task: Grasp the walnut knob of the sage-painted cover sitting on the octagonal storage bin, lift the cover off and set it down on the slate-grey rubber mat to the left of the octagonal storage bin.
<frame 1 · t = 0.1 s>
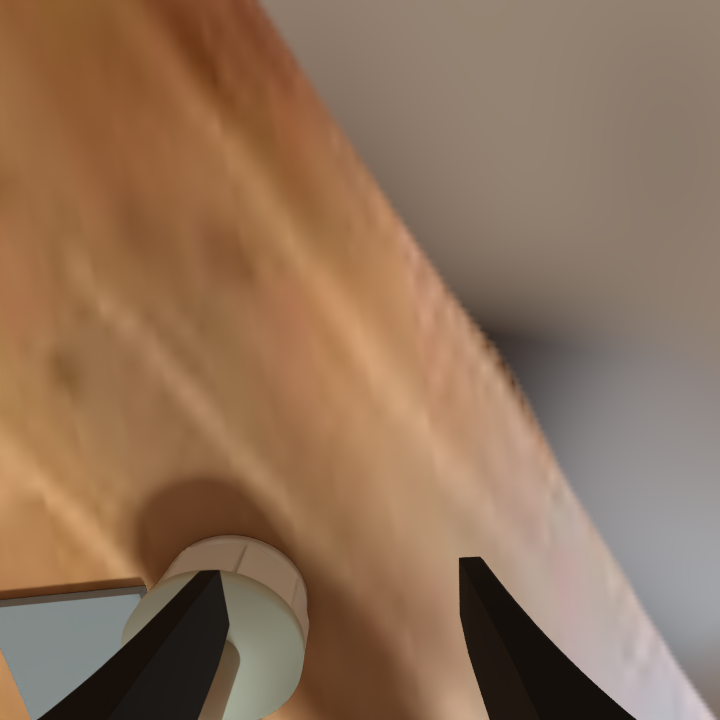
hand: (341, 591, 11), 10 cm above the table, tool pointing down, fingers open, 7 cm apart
mat: (95, 667, 25), on the table
cover: (217, 643, 21), point 3 cm above the table, touching octagonal storage bin
octagonal storage bin: (236, 597, 23), on the table
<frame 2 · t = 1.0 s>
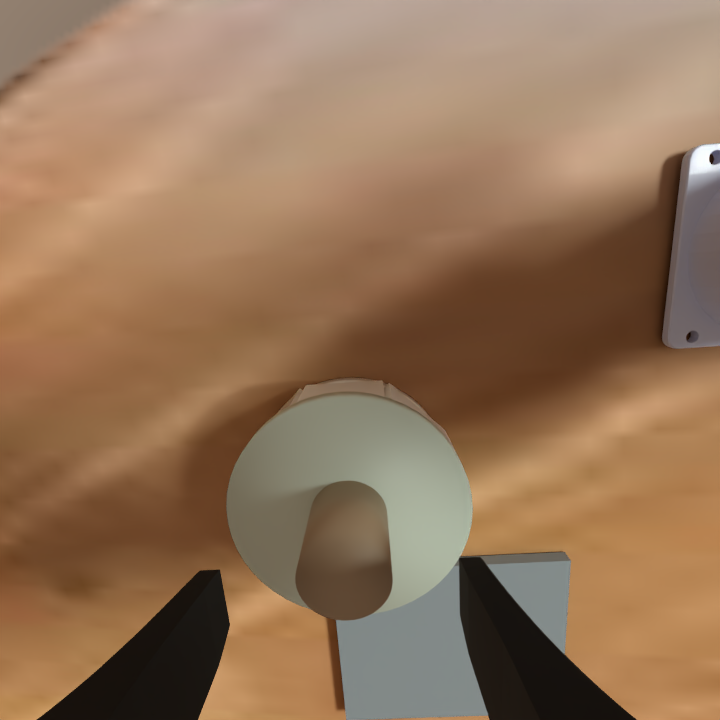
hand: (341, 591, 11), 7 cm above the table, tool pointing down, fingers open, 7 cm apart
mat: (448, 635, 21), on the table
cover: (349, 502, 15), point 3 cm above the table, touching octagonal storage bin
octagonal storage bin: (352, 466, 18), on the table
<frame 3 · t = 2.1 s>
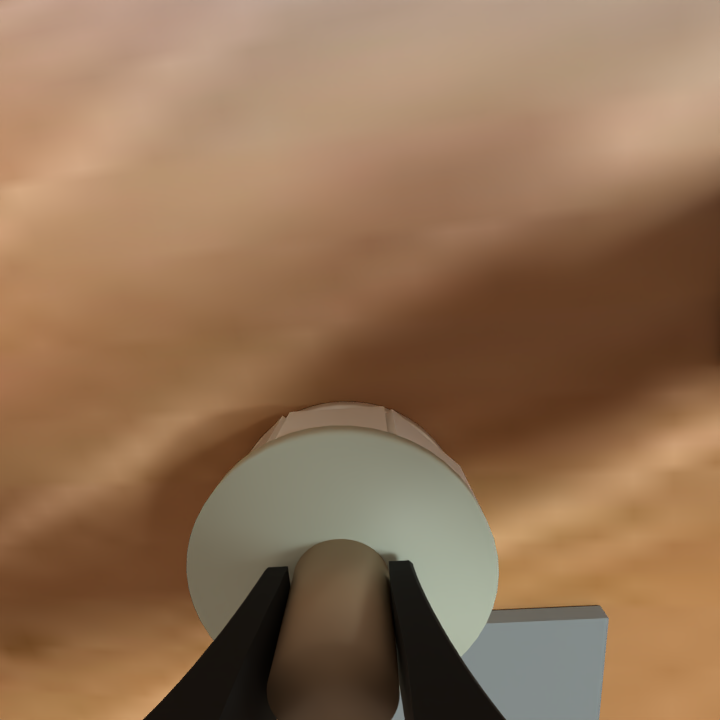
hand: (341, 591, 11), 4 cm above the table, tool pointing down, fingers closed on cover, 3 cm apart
mat: (461, 699, 17), on the table
cover: (343, 561, 12), point 3 cm above the table, touching octagonal storage bin, gripper
octagonal storage bin: (347, 506, 15), on the table
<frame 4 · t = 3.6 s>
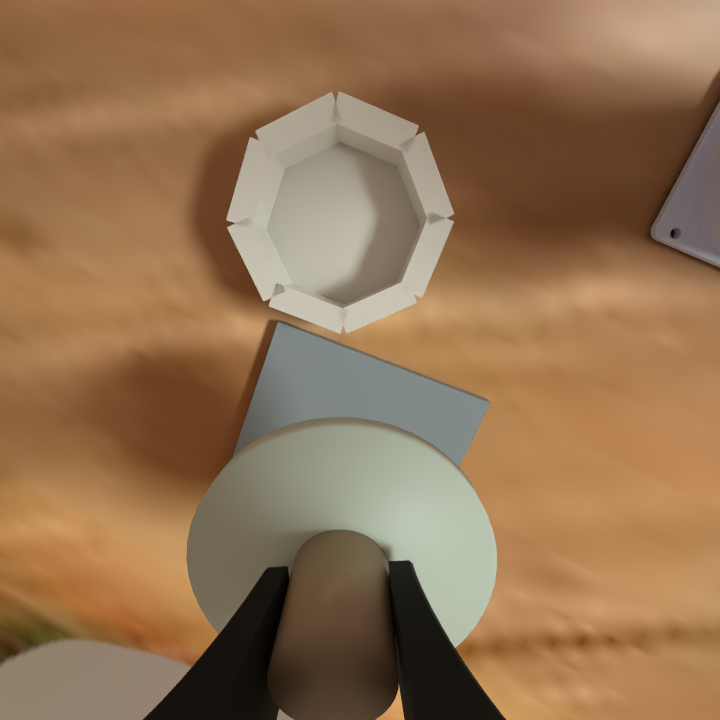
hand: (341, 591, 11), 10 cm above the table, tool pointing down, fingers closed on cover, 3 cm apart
mat: (352, 440, 21), on the table
cover: (342, 551, 12), point 9 cm above the table, touching gripper
octagonal storage bin: (343, 228, 19), on the table
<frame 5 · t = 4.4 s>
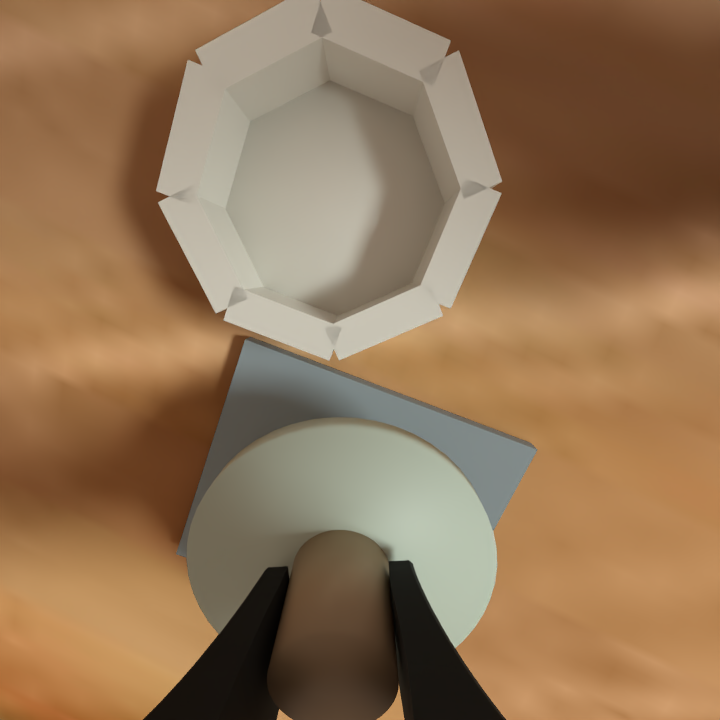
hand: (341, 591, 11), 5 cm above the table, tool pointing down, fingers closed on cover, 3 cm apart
mat: (349, 495, 16), on the table
cover: (342, 551, 12), point 4 cm above the table, touching gripper
octagonal storage bin: (336, 209, 13), on the table
when the fingers open (3 cm above the table, at t = 5.1 s): cover stays where it is, resting on mat.
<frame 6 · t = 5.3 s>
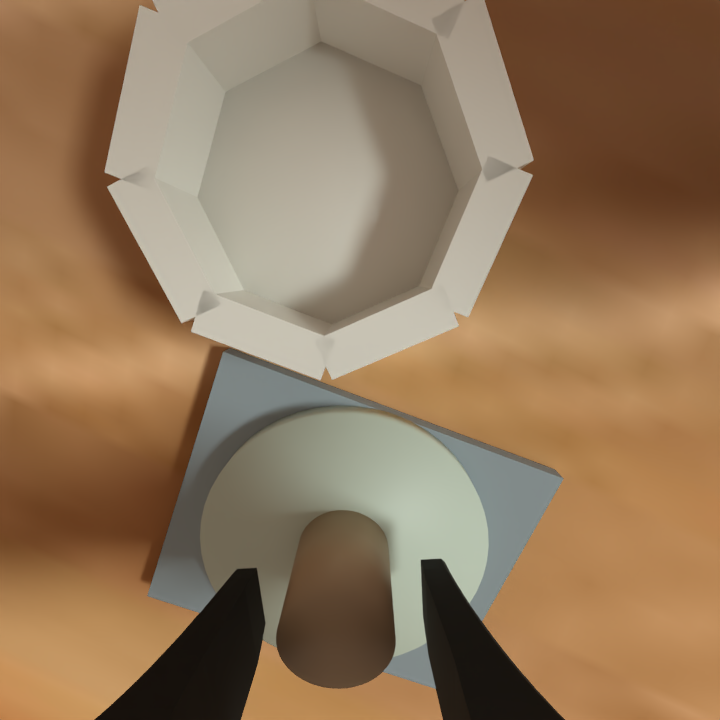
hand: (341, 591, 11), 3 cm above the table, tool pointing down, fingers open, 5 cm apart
mat: (345, 529, 14), on the table
cover: (344, 533, 13), point 1 cm above the table, touching mat
octagonal storage bin: (329, 199, 11), on the table
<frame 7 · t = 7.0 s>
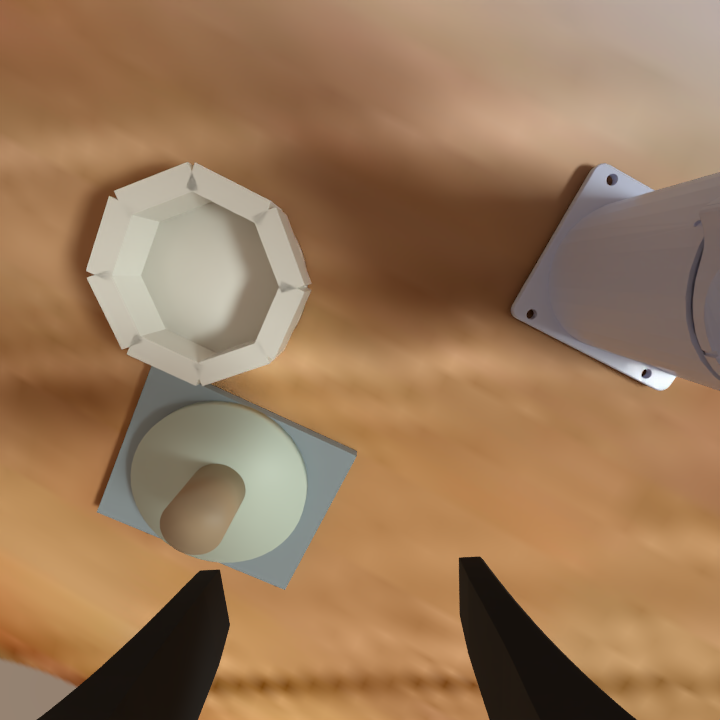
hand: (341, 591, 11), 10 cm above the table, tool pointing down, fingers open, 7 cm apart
mat: (227, 479, 22), on the table
cover: (223, 480, 21), point 1 cm above the table, touching mat
octagonal storage bin: (221, 280, 19), on the table
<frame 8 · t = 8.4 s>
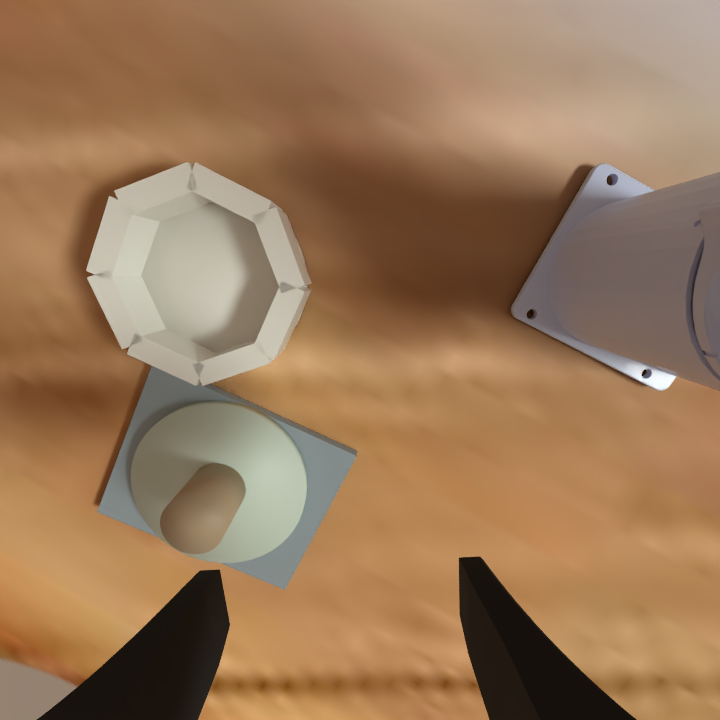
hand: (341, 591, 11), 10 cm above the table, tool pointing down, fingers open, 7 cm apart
mat: (227, 478, 22), on the table
cover: (223, 480, 21), point 1 cm above the table, touching mat
octagonal storage bin: (221, 280, 19), on the table
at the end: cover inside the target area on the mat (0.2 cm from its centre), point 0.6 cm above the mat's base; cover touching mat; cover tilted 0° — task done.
